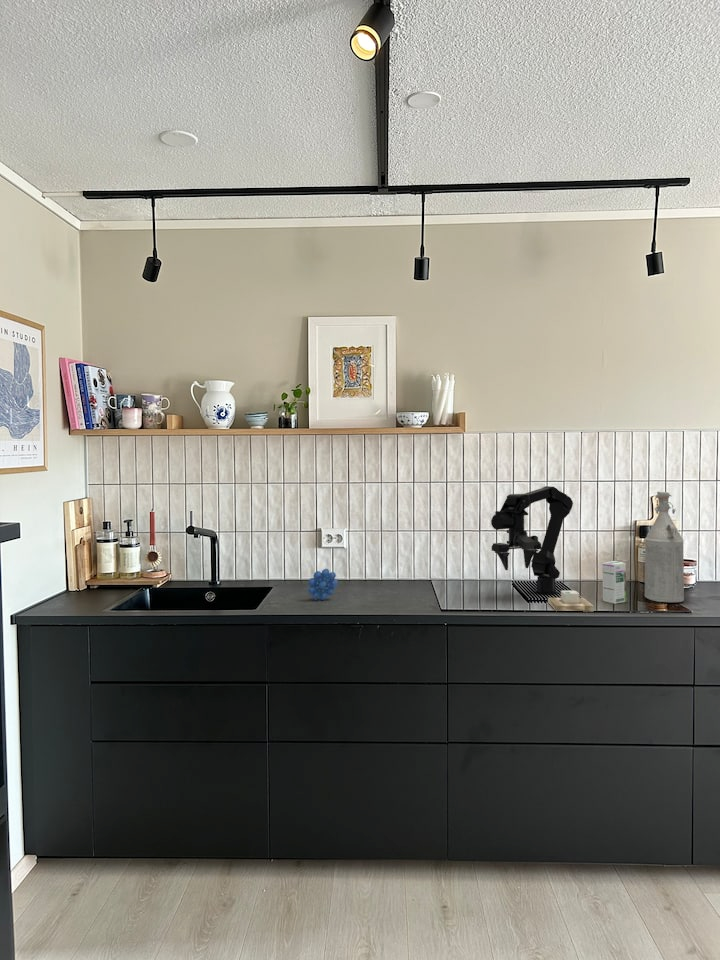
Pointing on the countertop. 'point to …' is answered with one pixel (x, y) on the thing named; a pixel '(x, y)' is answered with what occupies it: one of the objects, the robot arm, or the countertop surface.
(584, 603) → the socket block
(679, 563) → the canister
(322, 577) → the grapes
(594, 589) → the countertop surface
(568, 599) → the cream block
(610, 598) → the syrup box
